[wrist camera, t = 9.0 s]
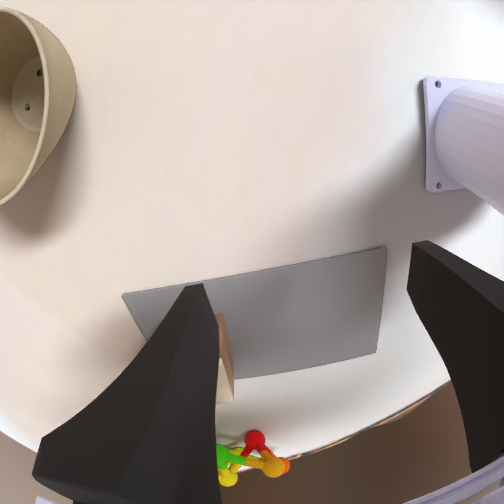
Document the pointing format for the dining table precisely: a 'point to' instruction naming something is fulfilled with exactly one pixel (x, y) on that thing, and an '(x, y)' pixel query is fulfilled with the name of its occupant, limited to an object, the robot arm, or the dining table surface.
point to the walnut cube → (224, 364)
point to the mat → (287, 312)
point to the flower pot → (30, 98)
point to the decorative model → (248, 459)
